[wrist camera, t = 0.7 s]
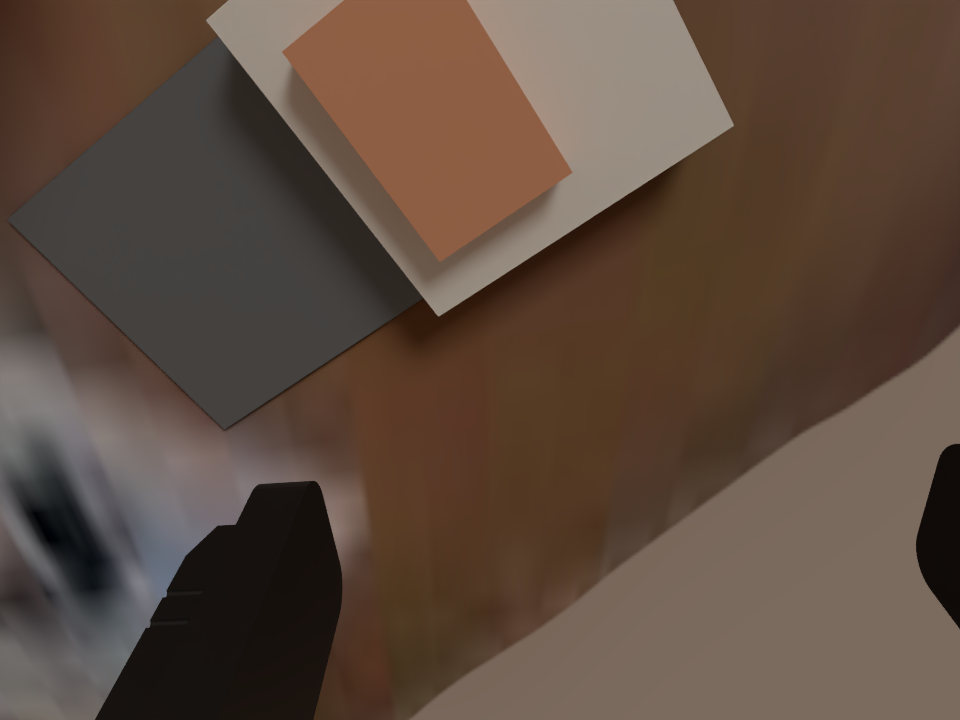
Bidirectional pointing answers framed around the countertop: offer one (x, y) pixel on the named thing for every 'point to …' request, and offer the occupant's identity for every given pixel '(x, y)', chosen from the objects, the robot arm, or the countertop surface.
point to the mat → (217, 241)
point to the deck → (553, 95)
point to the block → (430, 113)
